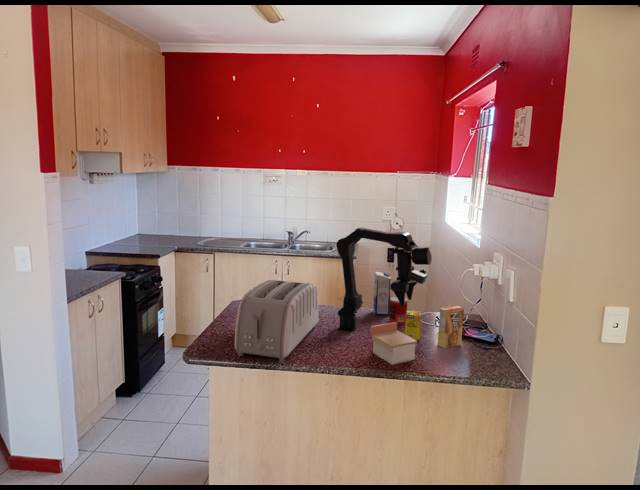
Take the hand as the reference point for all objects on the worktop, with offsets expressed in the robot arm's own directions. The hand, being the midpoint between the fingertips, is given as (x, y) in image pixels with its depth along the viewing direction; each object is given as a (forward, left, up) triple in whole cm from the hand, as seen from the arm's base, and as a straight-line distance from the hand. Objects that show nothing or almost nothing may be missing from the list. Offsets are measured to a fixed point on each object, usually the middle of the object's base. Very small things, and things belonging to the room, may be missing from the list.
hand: (406, 302), depth 190 cm
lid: (0, -18, -11) cm, 21 cm away
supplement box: (+3, +3, -16) cm, 16 cm away
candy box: (+18, +2, -16) cm, 24 cm away
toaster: (-45, -23, -16) cm, 53 cm away
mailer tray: (0, -19, -16) cm, 24 cm away
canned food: (-7, +20, -16) cm, 26 cm away
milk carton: (-17, +29, -16) cm, 37 cm away
